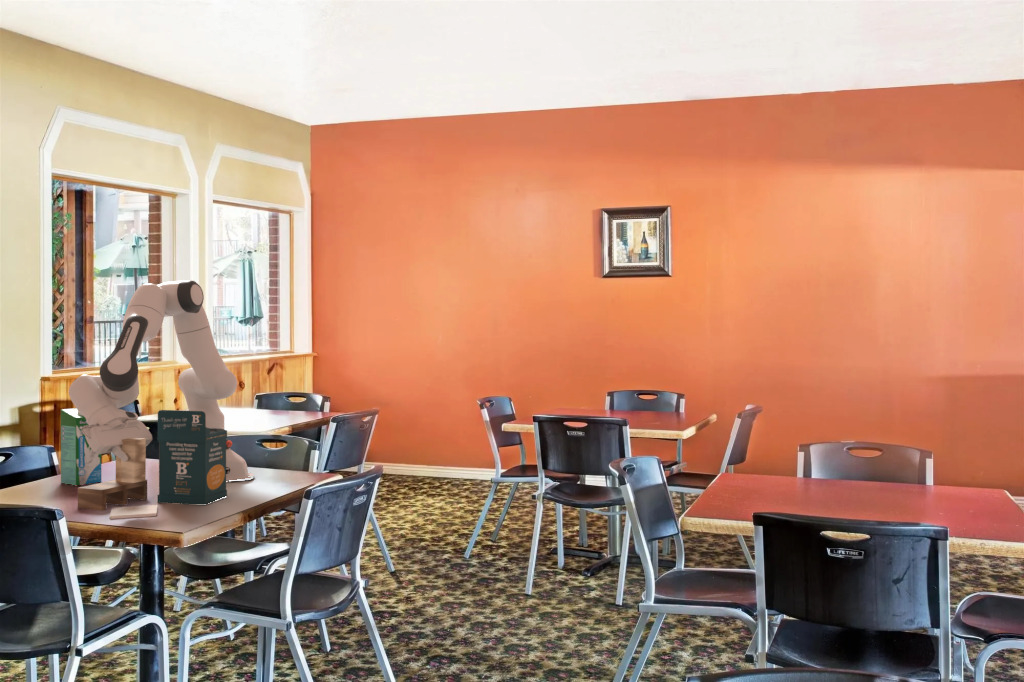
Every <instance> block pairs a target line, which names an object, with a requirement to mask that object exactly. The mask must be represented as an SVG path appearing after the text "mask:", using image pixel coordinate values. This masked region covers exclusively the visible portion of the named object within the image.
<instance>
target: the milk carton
mask: <svg viewBox="0 0 1024 682" xmlns="http://www.w3.org/2000/svg"><path fill="white" fill-rule="evenodd" d="M86 425H89V424H88V423H87V420H86V418H85V417H84V416H83V415H82V414H80V412H79V411H78V410H77V408H76V407H75V408H64V409H63V408H62V409H60V484H61V483H65V484H64V485H67V484H72V485H71V486H73V485H81V486H83V485H82V484H87V485H90V484H89V483H93V484H97V483H96V482H100V483H102V454H96V453H94V452H93V451H92V449H91V448H90V446H89V444H88V442H87V440H86V437H85V435H84V433H83V432H82V429H83V428H84V426H86Z"/></svg>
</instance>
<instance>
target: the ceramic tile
mask: <svg viewBox="0 0 1024 682" xmlns="http://www.w3.org/2000/svg"><path fill="white" fill-rule="evenodd" d="M158 505H159V504H149V505H147V504H146V505H134V506H133V505H132V506H121V507H120V506H119V507H118V506H117V507H116V506H115V507H112V508H111V510H110V515H109V520H117V519H132V518H147V517H149V518H150V517H158Z"/></svg>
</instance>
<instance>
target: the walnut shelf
mask: <svg viewBox="0 0 1024 682" xmlns="http://www.w3.org/2000/svg"><path fill="white" fill-rule="evenodd" d="M127 498H130V499H129V500H137V499H143V500H142V501H145V499H146V500H148V479H146V481H141V482H136V483H127V482H117V481H116V479H112V480H108V481H103V482H102V481H101V482H100V483H93V484H88V485H83V486H80V487H79V486H78V487H77V509H79V508H84V509H83V510H89V509H91V510H90V511H101V512H102V511H106V510H107V505H115V504H118V505H117V506H126V504H127V505H128V499H127ZM106 503H107V504H106Z"/></svg>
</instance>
